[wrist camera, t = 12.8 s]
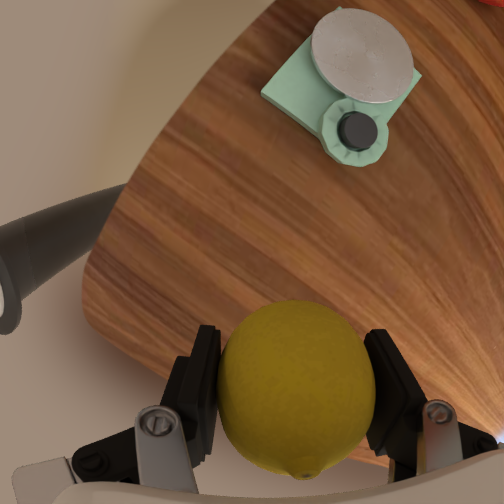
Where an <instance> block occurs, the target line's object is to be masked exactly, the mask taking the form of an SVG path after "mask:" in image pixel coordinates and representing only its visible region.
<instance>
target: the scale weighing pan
mask: <svg viewBox="0 0 504 504" xmlns="http://www.w3.org/2000/svg"><path fill="white" fill-rule="evenodd" d="M310 53H311V57H312V60H313V63H314V66H315V67H316V69H317V71H318V73H319V74H320V76H321V77H322V78H323V80H324V81H325V82H326V83H327V84H328V85H329V86H330V87H331V88H332V89H334V90H335V91H336V92H338V93H339V94H341V95H342V96H344V97H346V98H348V99H350V100H353V101H356V102H359V103H363V104H371V105H372V104H383V103H387V102H390V101H393V100H395V99H397V98H398V97H400V96H401V95H402V94H403V93H404V92H405V91H406V90H407V89H408V87H409V85H410V83H411V81H412V78H413V72H414V64H413V58H412V54H411V51H410V49H409V46H408V45H407V43H406V41H405V39H404V38H403V36H402V35H401V34H400V33H399V32H398V30H397V29H396V28H395V27H394V26H392V25H391V24H390V23H389V22H388V21H386V20H385V19H383V18H381V17H380V16H378V15H376V14H373V13H371V12H368V11H365V10H360V9H351V8H348V9H340V10H336V11H333V12H331V13H329V14H327V15H325V16H324V17H323V18H322V19H321V20H320V21H319V22H318V23H317V25H316V26H315V28H314V30H313V33H312V35H311V40H310Z"/></svg>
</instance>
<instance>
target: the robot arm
mask: <svg viewBox="0 0 504 504" xmlns="http://www.w3.org/2000/svg"><path fill="white" fill-rule="evenodd" d="M3 311H4V296H3V291H2V287H1V283H0V317H1V316H2V314H3ZM363 344H364V345H365V348H366V350H367V353H368V356H369V359H370V362H371V365H372V369H373V372H374V378H375V388H376V397H375V407H374V413H373V419H372V421H371V424H370V427H369V428H368V430H367V432H366V437H367V440H368V443H369V447H370V449H371V450H374V451H375V455H376V456H382V455H388V457H389V458H390V461H389V472H388V473H389V474H388V483H387V484H386V485H382V486H377V487H372V488H367V489H362V490H356V491H350V492H343V493H336V494H328V495H319V496H307V497H289V498H243V497H226V496H214V495H204V494H199V492H198V488H197V484H196V481H195V477H194V473H193V468H195V467H196V466H198V465H200V462H201V461H203V462H204V460H205V454H208V455H210V454H211V450H212V443H213V437H214V430H215V423H216V416H217V410H218V405H217V398H216V382H217V373H218V366H219V361H220V357H221V333H220V330H215V326H212V325H200V327H199V330H198V333H197V337H196V340H195V343H194V346H193V349H192V353H191V356H190V357H186V356H177V358H176V360H175V363H174V366H173V369H172V371H171V374H170V377H169V380H168V383H167V385H166V389H165V391H164V394H163V397H162V400H161V402H160V405H154V406H149V407H147V408H144V409H143V410H142V411H140V412H139V413H138V414H137V416H136V418H135V426H134V427H132V428H129V429H127V430H125V431H122V432H120V433H117V434H115V435H112V436H110V437H107V438H104V439H102V440H99V441H97V442H94V443H91V444H88V445H85V446H83V447H81V448H79V449H78V450H77V451H76V452H75V453H74V455H73V457H72V458H68V459H66V458H65V457H61V458H57V459H53V460H49V461H44V462H40V463H35V464H31V465H26V466H21V467H19V468H17V469H16V470H15V471H14V472H13V475H12V485H13V489H14V492H15V496H16V500H17V503H18V504H504V443H501V442H499V443H498V445H497V442H496V440H495V438H494V437H493V436H492V435H490V434H488V433H486V432H483V431H481V430H478V429H476V428H473V427H471V426H468V425H466V424H463V423H461V422H458V421H457V416H456V412H455V409H454V408H453V407H452V405H450V404H449V403H448V402H445V401H443V400H439V399H434V400H430V401H428V400H427V398H426V397H425V394H424V392H423V391H422V389H421V387H420V385H419V384H418V382H417V380H416V378H415V377H414V375H413V373H412V372H411V370H410V368H409V366H408V365H407V363H406V361H405V360H404V358H403V356H402V355H401V353H400V351H399V350H398V348H397V347H396V345H395V343H394V342H393V340H392V338H391V337H390V335H389V334H388V332H387V331H386V329H372V330H371V331H370V333H367V334H366V336H365V340H364V343H363Z"/></svg>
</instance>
